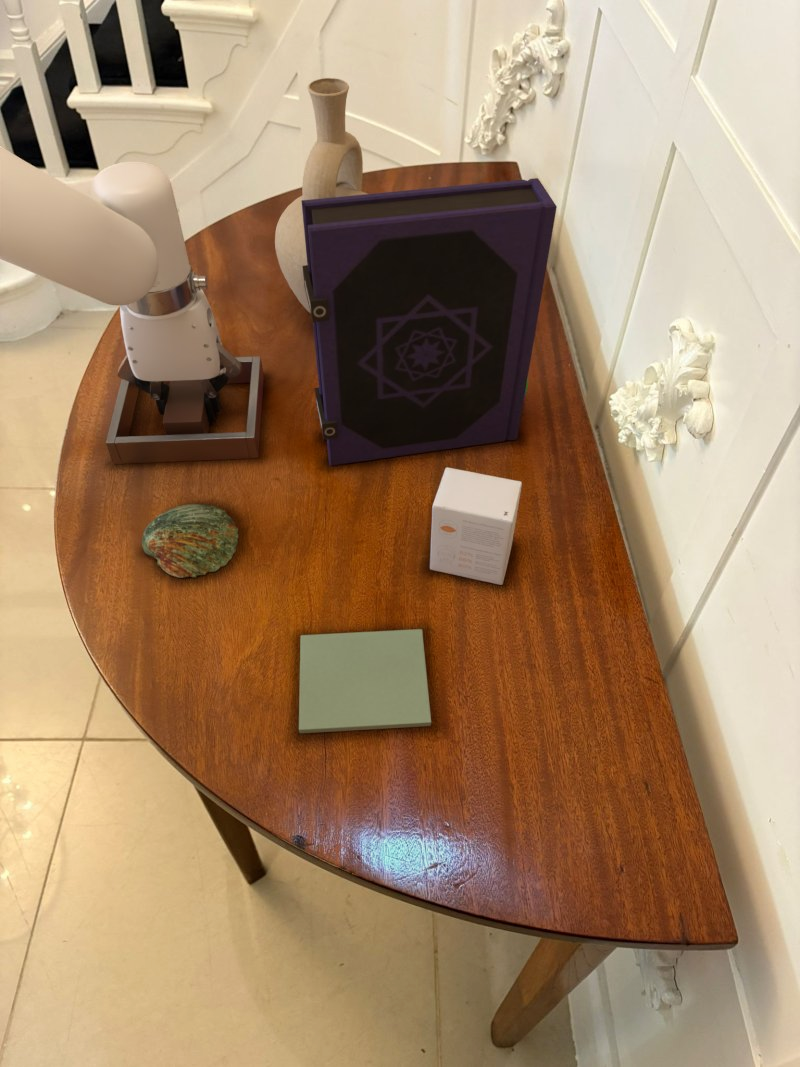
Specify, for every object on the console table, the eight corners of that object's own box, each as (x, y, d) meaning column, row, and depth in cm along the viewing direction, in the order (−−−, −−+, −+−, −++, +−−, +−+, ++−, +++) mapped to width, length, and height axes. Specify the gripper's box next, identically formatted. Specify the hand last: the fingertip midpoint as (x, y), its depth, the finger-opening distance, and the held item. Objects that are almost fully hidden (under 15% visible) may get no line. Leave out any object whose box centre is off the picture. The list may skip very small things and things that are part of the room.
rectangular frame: (113, 464, 92) (105, 443, 89) (133, 382, 101) (126, 360, 99) (258, 458, 93) (254, 437, 90) (264, 377, 102) (260, 356, 99)
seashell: (234, 545, 79) (133, 559, 78) (241, 571, 82) (143, 585, 81) (231, 480, 86) (138, 492, 84) (237, 506, 89) (148, 518, 87)
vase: (381, 354, 105) (378, 124, 82) (266, 334, 108) (232, 106, 85) (412, 287, 115) (417, 65, 92) (306, 270, 118) (285, 51, 95)
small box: (512, 547, 84) (524, 480, 76) (502, 587, 81) (514, 522, 73) (440, 531, 86) (445, 464, 77) (427, 570, 82) (431, 504, 74)
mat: (299, 733, 70) (298, 729, 70) (301, 639, 77) (300, 635, 76) (430, 726, 71) (431, 722, 70) (421, 633, 77) (422, 628, 77)
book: (503, 409, 98) (537, 174, 75) (517, 442, 95) (558, 207, 71) (319, 434, 95) (295, 197, 72) (326, 470, 91) (304, 232, 68)
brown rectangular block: (169, 447, 94) (162, 422, 91) (179, 393, 100) (172, 368, 97) (207, 446, 94) (201, 421, 91) (214, 391, 100) (208, 367, 97)
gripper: (240, 266, 85) (261, 394, 99) (84, 270, 84) (128, 399, 99) (235, 306, 81) (259, 434, 95) (70, 311, 80) (118, 440, 94)
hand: (192, 415), depth 96 cm, fingers closed on brown rectangular block, 4 cm apart
